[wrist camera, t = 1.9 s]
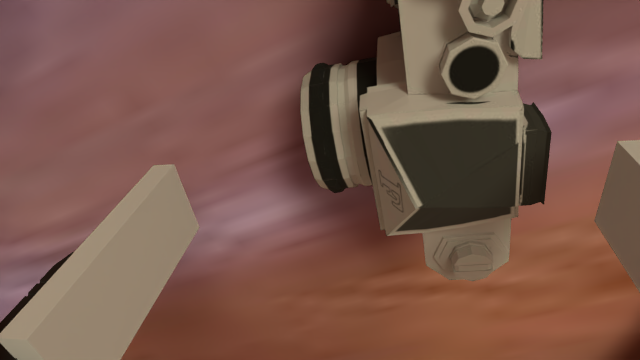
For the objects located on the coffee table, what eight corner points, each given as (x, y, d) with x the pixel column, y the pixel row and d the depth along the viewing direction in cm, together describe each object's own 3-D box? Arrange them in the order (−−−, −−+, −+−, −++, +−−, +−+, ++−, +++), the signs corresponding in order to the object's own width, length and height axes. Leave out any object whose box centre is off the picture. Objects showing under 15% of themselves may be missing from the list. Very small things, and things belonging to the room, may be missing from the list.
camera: (279, -103, 17) (182, -106, 9) (496, -164, 15) (627, -239, 7) (346, 196, 26) (328, 335, 17) (491, 182, 24) (547, 331, 15)
